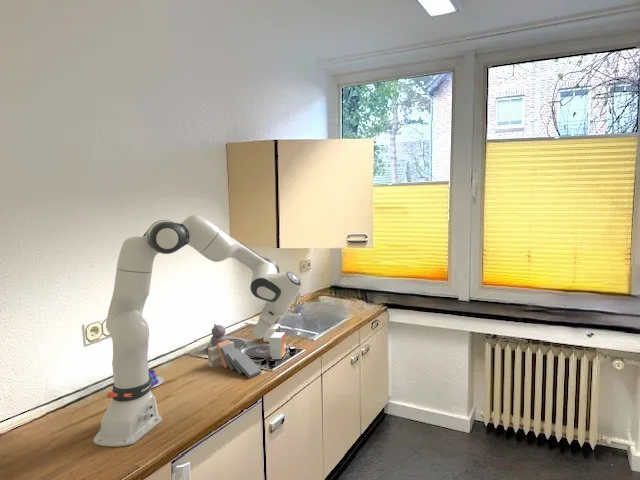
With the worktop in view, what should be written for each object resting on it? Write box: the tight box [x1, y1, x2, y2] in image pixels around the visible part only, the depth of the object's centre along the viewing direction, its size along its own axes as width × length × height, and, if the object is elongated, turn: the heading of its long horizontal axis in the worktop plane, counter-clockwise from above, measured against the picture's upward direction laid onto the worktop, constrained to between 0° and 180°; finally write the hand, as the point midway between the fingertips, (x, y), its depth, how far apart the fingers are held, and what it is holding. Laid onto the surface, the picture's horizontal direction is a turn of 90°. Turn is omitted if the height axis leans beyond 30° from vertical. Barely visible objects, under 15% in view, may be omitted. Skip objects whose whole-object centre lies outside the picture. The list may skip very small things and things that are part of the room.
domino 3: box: [234, 353, 262, 379], centre depth 190 cm, size 2×6×11 cm
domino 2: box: [226, 348, 245, 375], centre depth 193 cm, size 2×6×11 cm
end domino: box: [216, 339, 231, 369], centre depth 198 cm, size 2×6×11 cm, turn 137°
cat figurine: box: [210, 323, 228, 347], centre depth 217 cm, size 8×8×12 cm
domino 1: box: [220, 343, 237, 372], centre depth 196 cm, size 2×6×11 cm
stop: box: [207, 340, 235, 368], centre depth 201 cm, size 3×12×8 cm, turn 138°
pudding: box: [148, 368, 164, 389], centre depth 183 cm, size 12×12×5 cm
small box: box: [268, 331, 287, 360], centre depth 206 cm, size 8×6×10 cm
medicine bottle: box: [262, 321, 281, 343], centre depth 229 cm, size 7×7×12 cm
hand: (260, 334), depth 178 cm, fingers closed
